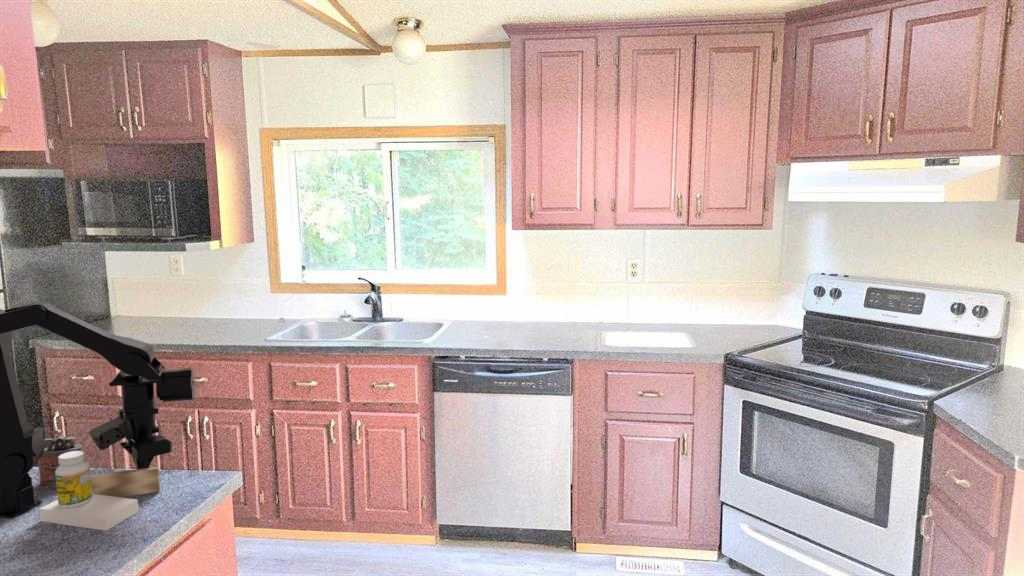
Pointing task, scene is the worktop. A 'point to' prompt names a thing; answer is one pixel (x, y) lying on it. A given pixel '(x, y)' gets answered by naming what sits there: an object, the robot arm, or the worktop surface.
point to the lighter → (54, 458)
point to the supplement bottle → (73, 480)
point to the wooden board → (126, 482)
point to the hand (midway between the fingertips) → (142, 475)
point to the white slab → (91, 512)
